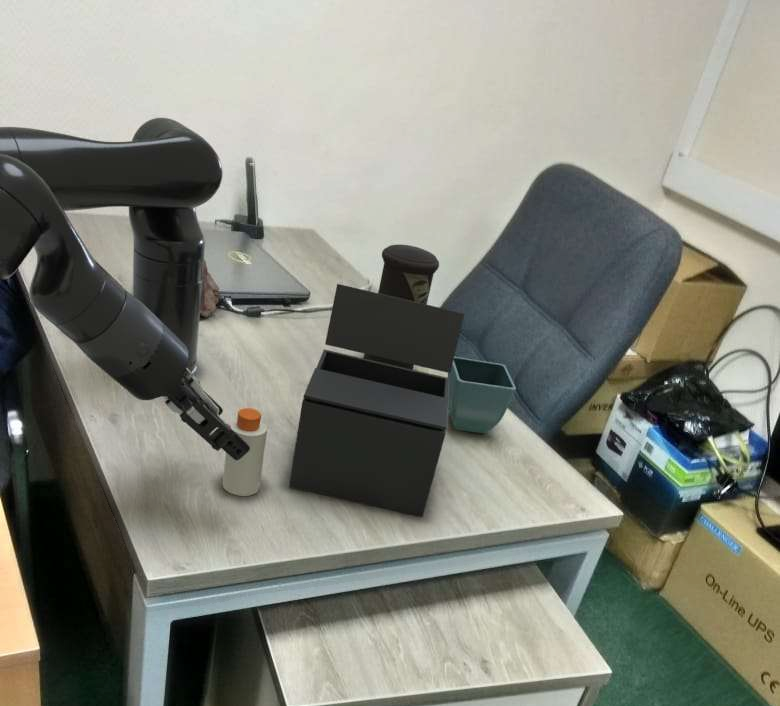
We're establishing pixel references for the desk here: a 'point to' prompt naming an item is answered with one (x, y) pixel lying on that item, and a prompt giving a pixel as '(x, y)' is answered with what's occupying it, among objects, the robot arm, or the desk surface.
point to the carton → (370, 433)
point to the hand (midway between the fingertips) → (229, 434)
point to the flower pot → (478, 394)
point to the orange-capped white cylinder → (247, 470)
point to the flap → (394, 328)
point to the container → (406, 280)
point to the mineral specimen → (208, 293)
